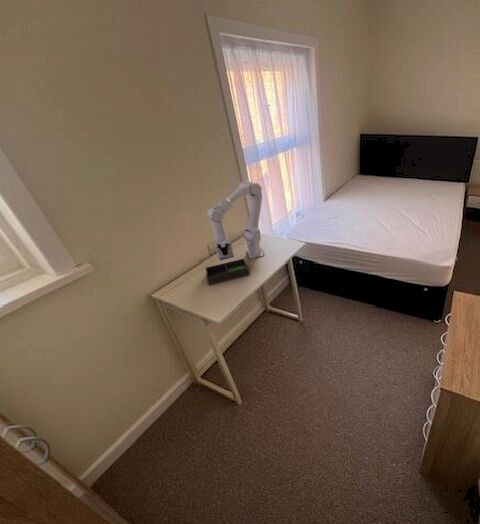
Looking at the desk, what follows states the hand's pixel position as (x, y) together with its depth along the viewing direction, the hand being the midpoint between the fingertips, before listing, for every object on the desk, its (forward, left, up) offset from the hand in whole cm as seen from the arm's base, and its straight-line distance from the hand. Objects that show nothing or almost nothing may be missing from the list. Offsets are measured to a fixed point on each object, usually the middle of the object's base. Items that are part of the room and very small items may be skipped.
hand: (225, 252), depth 156 cm
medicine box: (0, 0, -3) cm, 3 cm away
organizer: (+7, -1, -10) cm, 12 cm away
